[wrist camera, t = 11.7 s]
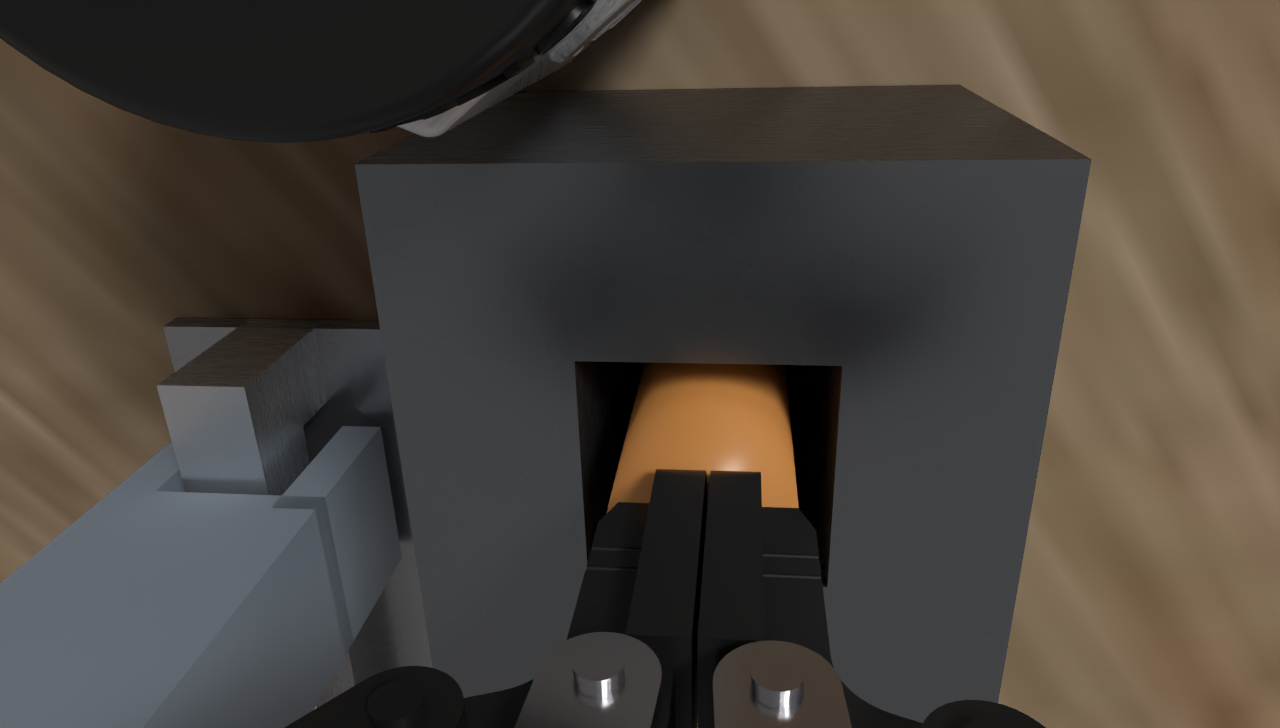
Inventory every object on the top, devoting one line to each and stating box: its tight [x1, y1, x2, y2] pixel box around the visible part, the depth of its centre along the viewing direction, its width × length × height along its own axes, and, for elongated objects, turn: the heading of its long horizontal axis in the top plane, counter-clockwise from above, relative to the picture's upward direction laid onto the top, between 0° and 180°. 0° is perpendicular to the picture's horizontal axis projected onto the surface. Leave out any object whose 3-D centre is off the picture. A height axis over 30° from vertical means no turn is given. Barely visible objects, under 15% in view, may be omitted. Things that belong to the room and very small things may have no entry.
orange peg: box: [607, 362, 799, 513], centre depth 17 cm, size 3×3×8 cm
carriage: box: [0, 426, 402, 728], centre depth 19 cm, size 5×4×10 cm
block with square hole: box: [355, 85, 1091, 723], centre depth 18 cm, size 10×10×8 cm
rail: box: [157, 318, 433, 710], centre depth 25 cm, size 6×21×4 cm, turn 2°
